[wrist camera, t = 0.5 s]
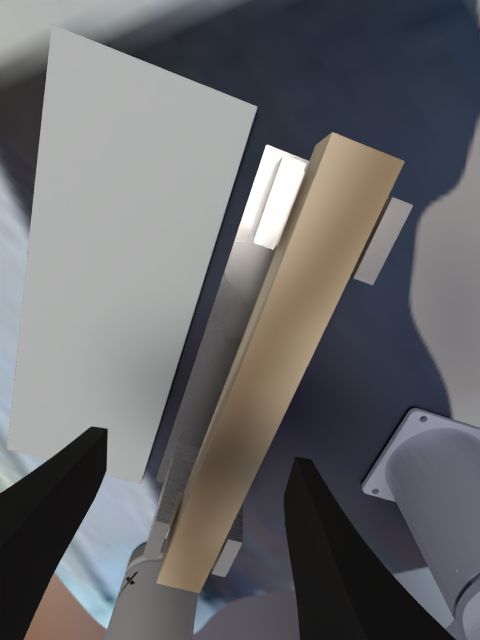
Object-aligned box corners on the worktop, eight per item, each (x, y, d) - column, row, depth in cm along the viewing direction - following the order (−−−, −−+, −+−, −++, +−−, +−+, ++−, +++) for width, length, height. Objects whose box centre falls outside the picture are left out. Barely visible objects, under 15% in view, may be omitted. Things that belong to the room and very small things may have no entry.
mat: (256, 109, 16) (257, 106, 16) (142, 478, 25) (140, 484, 24) (57, 29, 15) (51, 24, 15) (11, 444, 24) (7, 448, 23)
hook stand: (368, 188, 17) (444, 181, 11) (233, 488, 25) (229, 590, 19) (265, 148, 17) (278, 115, 10) (159, 468, 24) (128, 566, 18)
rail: (374, 168, 12) (404, 161, 10) (204, 547, 20) (199, 593, 18) (315, 145, 12) (332, 132, 10) (166, 538, 20) (156, 583, 18)
